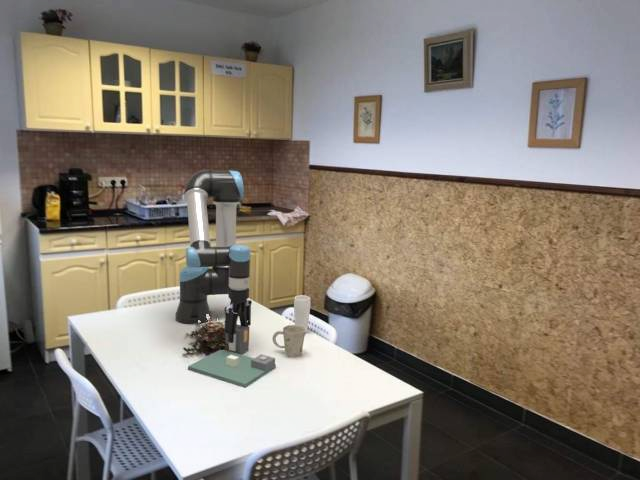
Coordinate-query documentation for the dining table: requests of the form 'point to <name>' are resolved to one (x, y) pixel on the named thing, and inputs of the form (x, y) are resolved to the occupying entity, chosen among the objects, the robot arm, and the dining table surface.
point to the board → (234, 367)
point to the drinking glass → (302, 311)
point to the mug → (291, 339)
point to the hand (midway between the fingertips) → (237, 347)
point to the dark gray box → (241, 339)
